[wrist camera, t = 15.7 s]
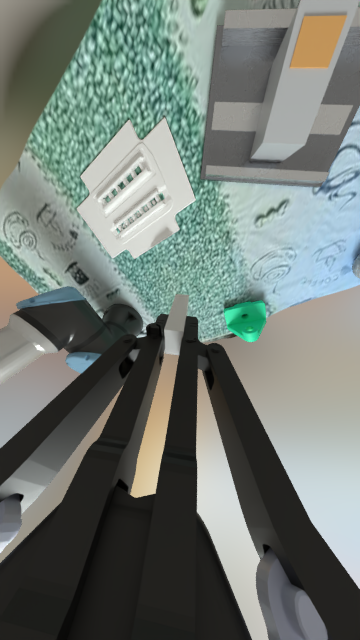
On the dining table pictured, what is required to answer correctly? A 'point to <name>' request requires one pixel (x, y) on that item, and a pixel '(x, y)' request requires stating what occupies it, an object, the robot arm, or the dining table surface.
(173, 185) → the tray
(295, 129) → the module
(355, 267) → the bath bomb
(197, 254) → the dining table surface
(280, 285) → the dining table surface
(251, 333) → the camera mount
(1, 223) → the dining table surface
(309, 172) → the rail
